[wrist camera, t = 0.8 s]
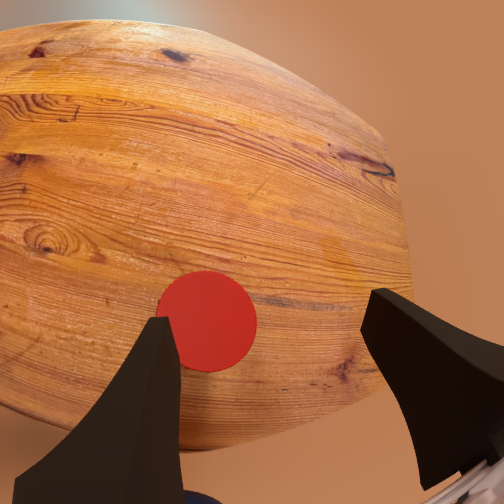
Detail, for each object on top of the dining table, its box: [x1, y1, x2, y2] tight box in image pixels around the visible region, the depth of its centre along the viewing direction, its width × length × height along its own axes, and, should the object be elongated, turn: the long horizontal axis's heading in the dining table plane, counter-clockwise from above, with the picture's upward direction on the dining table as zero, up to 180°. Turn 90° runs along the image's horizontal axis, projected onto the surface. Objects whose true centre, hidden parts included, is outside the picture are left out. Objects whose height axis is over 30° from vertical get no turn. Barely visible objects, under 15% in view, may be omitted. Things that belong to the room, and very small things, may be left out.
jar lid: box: [156, 271, 257, 373], centre depth 16 cm, size 6×6×2 cm
